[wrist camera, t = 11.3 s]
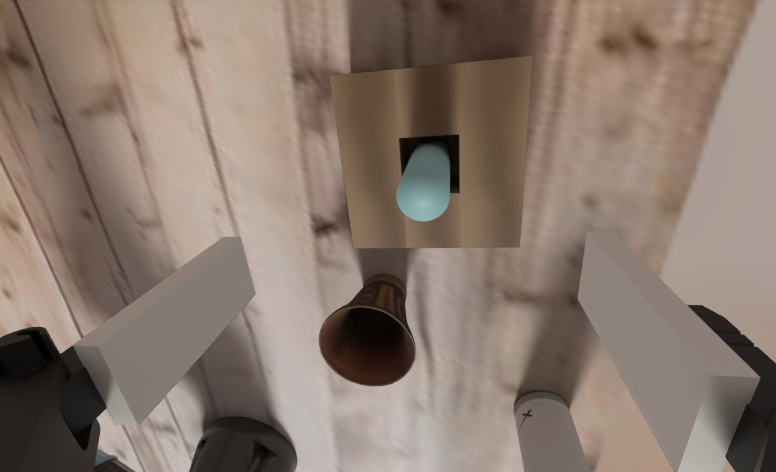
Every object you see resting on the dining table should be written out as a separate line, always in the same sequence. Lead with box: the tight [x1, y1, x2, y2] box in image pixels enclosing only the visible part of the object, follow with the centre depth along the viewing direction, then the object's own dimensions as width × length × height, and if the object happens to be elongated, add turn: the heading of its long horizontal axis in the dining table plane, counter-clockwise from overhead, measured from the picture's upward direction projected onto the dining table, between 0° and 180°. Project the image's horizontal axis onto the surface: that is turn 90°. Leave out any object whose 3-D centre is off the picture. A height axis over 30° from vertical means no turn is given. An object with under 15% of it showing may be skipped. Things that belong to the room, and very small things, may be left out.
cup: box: [319, 274, 415, 386], centre depth 37 cm, size 9×9×10 cm
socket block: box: [330, 56, 532, 248], centre depth 31 cm, size 14×14×6 cm
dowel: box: [396, 136, 450, 221], centre depth 27 cm, size 3×3×12 cm
